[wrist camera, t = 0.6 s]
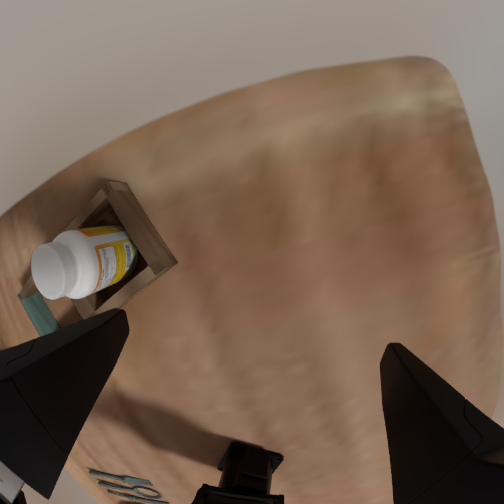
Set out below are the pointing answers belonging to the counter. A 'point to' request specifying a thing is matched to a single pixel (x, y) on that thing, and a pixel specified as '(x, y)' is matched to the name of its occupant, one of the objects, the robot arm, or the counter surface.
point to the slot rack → (141, 235)
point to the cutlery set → (130, 481)
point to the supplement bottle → (83, 261)
